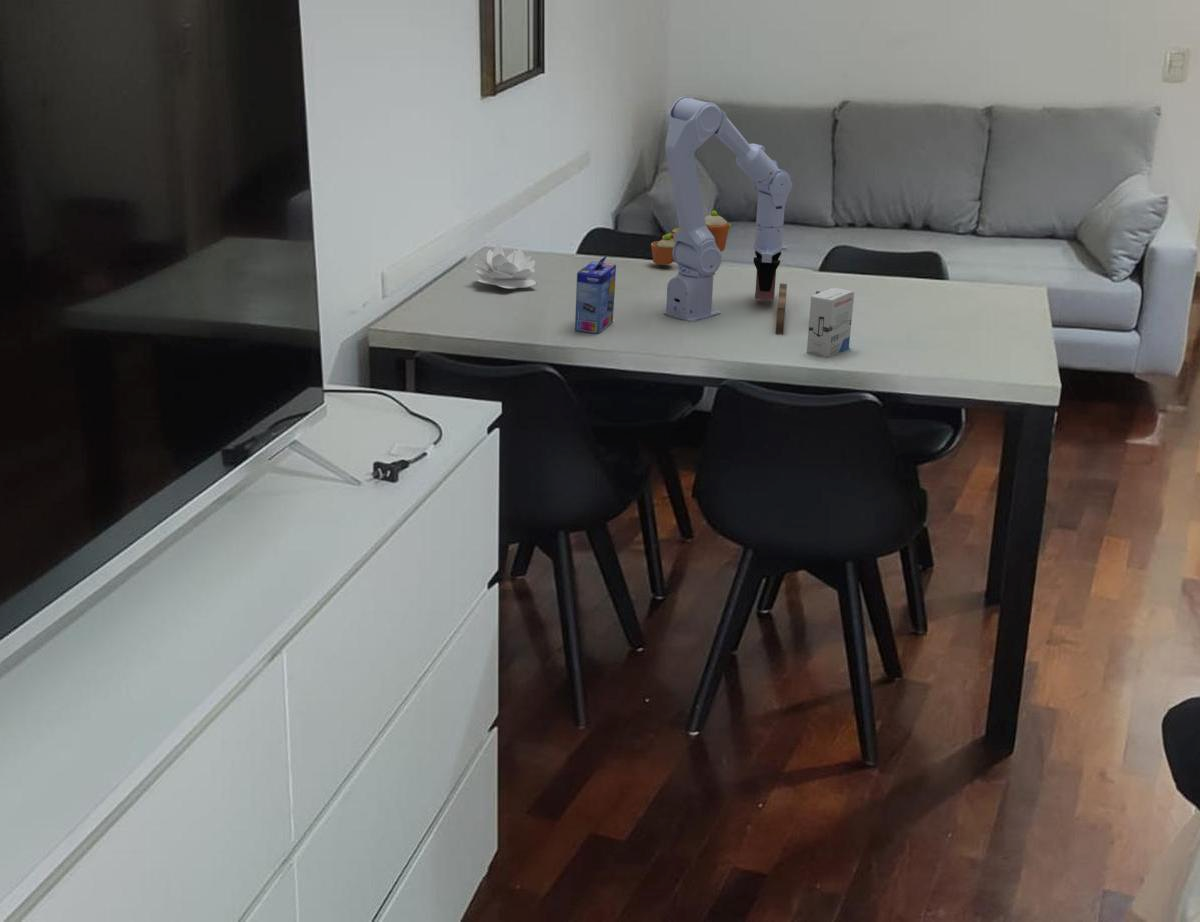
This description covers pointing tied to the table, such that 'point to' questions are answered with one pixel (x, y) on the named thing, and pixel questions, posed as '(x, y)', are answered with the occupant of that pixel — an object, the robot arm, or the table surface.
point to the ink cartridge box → (595, 297)
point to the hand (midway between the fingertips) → (765, 287)
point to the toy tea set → (664, 248)
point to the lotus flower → (507, 269)
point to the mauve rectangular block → (765, 294)
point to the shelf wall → (781, 308)
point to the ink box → (830, 322)
